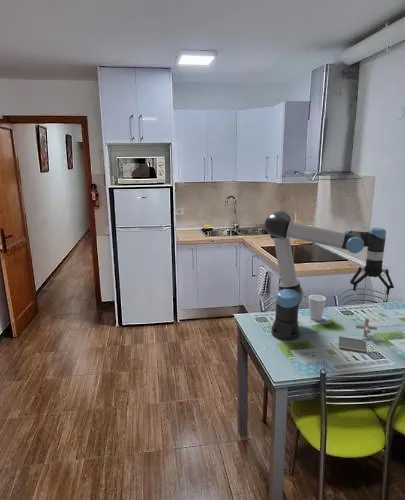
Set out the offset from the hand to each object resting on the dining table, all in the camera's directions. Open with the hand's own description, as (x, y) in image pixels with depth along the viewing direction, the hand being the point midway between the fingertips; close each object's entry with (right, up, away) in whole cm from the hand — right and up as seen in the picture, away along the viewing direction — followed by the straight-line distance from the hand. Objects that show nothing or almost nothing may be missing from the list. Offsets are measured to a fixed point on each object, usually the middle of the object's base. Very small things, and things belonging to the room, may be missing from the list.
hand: (369, 298), depth 182 cm
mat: (-11, -23, -4) cm, 26 cm away
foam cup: (-19, -15, +27) cm, 37 cm away
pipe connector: (0, -21, +5) cm, 21 cm away
